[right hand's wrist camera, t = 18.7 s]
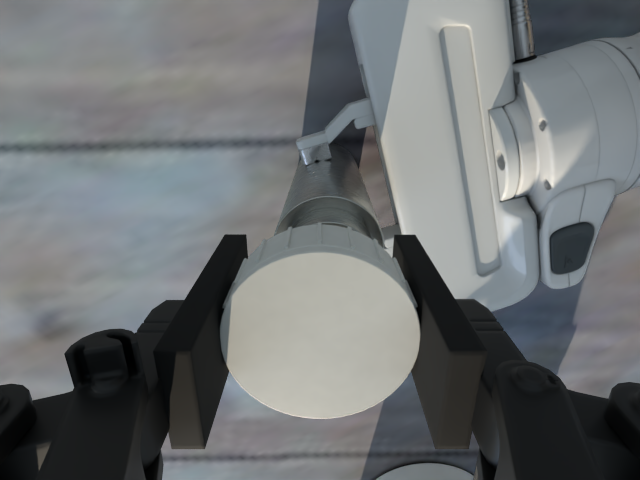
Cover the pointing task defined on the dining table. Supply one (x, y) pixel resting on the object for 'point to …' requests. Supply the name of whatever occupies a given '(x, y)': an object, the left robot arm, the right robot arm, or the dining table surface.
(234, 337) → the lid
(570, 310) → the dining table surface
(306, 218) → the grey cylinder
